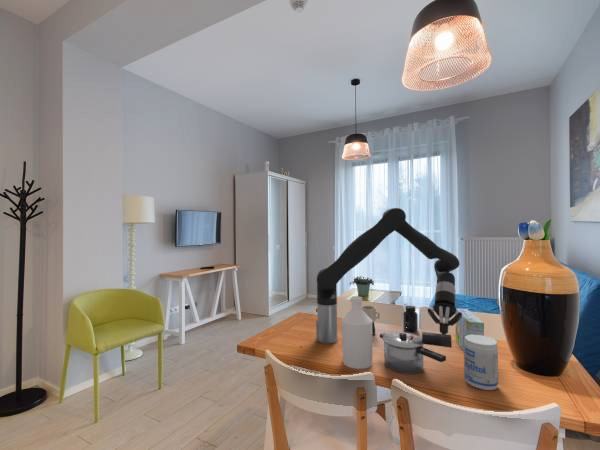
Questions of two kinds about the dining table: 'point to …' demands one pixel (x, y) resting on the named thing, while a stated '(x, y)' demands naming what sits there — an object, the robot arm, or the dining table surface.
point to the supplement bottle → (410, 319)
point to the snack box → (468, 326)
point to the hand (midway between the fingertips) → (443, 333)
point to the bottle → (357, 337)
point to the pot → (407, 358)
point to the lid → (416, 340)
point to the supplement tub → (481, 362)
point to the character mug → (371, 314)
